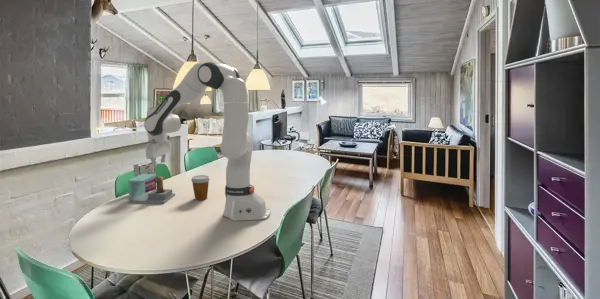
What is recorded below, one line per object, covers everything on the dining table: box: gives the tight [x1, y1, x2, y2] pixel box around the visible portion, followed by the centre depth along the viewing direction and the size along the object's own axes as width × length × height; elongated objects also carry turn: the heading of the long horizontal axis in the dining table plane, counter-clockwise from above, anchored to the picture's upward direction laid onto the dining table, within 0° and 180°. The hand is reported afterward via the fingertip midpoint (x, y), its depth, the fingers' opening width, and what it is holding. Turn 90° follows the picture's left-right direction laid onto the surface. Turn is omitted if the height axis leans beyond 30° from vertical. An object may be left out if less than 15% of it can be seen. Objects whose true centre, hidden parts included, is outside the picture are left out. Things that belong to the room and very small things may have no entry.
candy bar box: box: [133, 161, 157, 193], centre depth 185 cm, size 11×5×16 cm, turn 159°
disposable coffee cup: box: [191, 174, 211, 201], centre depth 174 cm, size 10×10×12 cm
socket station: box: [127, 173, 176, 205], centre depth 171 cm, size 18×14×12 cm
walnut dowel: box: [156, 176, 164, 193], centre depth 171 cm, size 3×3×11 cm
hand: (159, 164), depth 169 cm, fingers open, 8 cm apart
